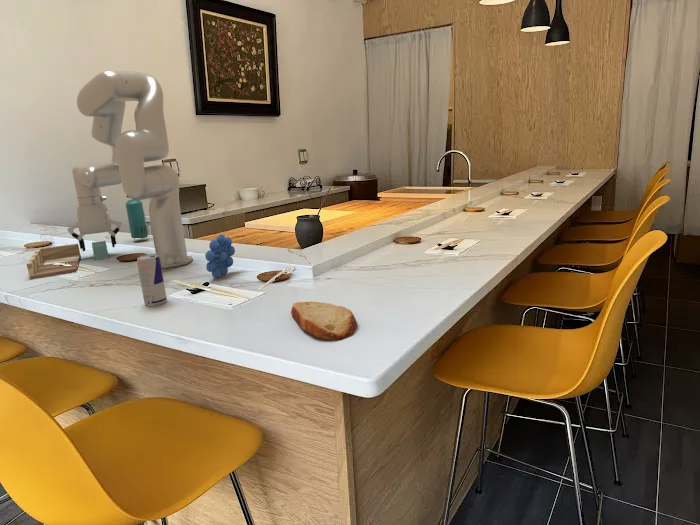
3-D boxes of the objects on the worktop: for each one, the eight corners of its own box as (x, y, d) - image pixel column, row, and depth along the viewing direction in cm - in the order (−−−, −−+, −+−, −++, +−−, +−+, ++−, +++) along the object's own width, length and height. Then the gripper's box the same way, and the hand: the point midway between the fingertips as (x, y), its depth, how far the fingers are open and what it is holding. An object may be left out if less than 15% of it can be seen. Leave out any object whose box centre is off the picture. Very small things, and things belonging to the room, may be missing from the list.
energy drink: (171, 300, 132) (164, 254, 129) (156, 307, 127) (147, 260, 124) (155, 298, 134) (148, 253, 131) (140, 305, 129) (131, 259, 126)
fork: (253, 292, 136) (252, 285, 136) (287, 269, 154) (286, 263, 153) (264, 292, 135) (263, 285, 134) (297, 269, 153) (296, 263, 152)
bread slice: (297, 307, 121) (295, 292, 120) (371, 311, 116) (370, 295, 115) (262, 339, 105) (260, 321, 104) (347, 344, 99) (345, 326, 98)
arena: (76, 272, 166) (73, 257, 165) (30, 279, 161) (26, 264, 160) (80, 256, 188) (78, 243, 186) (40, 262, 183) (36, 249, 181)
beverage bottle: (143, 242, 205) (134, 192, 200) (128, 242, 206) (119, 193, 201) (152, 238, 211) (144, 189, 206) (137, 239, 213) (129, 190, 207)
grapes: (225, 269, 157) (220, 230, 154) (242, 270, 154) (237, 231, 151) (197, 280, 148) (191, 239, 144) (216, 282, 144) (210, 240, 141)
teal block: (109, 258, 183) (106, 244, 181) (95, 260, 181) (92, 246, 180) (108, 253, 191) (105, 240, 189) (94, 255, 189) (91, 242, 187)
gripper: (116, 197, 187) (124, 243, 192) (63, 202, 181) (72, 249, 185) (117, 199, 180) (125, 247, 185) (61, 205, 174) (71, 254, 179)
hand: (99, 248), depth 185 cm, fingers open, 9 cm apart
